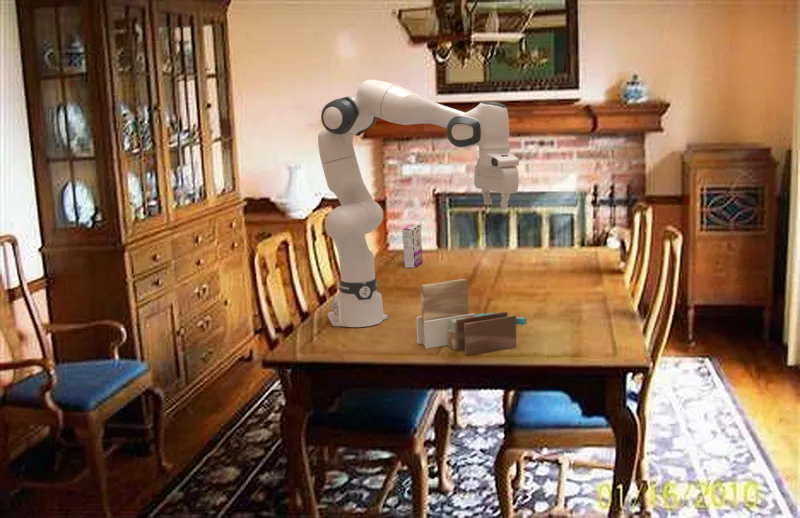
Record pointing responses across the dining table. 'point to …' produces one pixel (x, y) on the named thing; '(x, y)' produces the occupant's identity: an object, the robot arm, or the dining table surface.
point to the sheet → (443, 300)
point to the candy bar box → (412, 246)
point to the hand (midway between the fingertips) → (495, 206)
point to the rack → (486, 333)
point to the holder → (435, 330)
